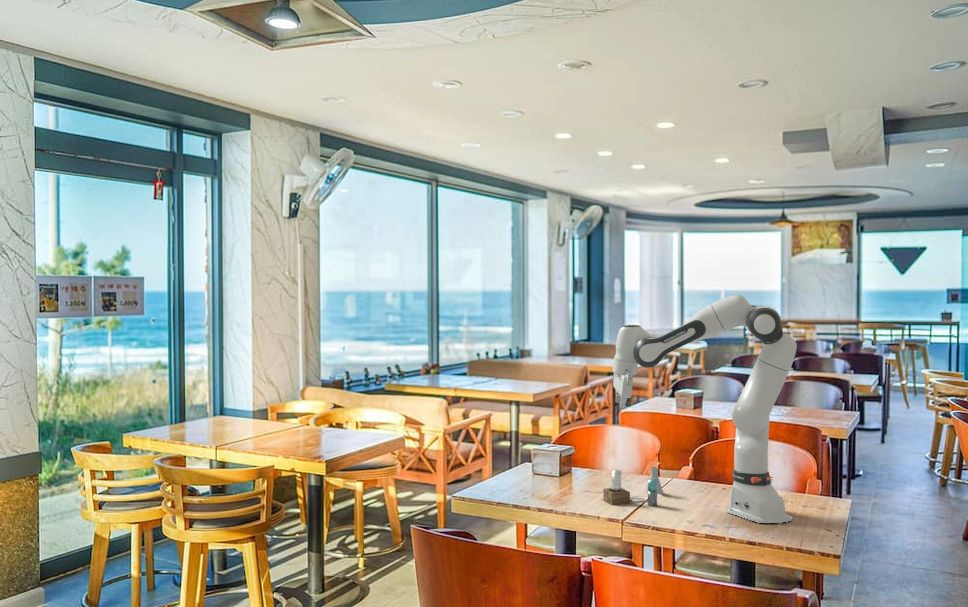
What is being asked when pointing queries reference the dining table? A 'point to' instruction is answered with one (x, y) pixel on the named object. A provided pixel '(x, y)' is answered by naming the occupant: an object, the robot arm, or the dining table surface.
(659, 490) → the flask
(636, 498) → the box
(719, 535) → the dining table surface
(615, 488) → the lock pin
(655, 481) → the small bottle
